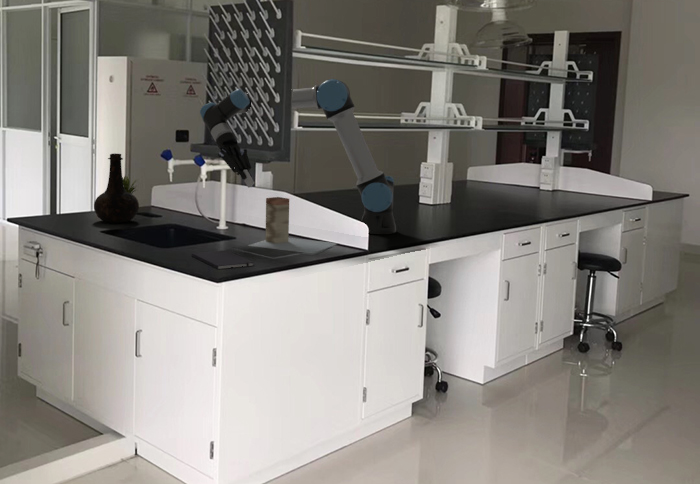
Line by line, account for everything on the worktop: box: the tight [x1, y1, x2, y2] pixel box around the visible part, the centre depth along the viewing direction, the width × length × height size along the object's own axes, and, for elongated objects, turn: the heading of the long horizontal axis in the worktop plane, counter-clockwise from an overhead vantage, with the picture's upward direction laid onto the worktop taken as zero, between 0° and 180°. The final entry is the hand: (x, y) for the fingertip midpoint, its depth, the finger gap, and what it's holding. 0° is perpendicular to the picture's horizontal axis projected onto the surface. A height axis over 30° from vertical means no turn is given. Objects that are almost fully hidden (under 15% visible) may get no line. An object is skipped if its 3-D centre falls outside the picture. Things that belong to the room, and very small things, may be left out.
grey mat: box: [247, 237, 338, 256], centre depth 284 cm, size 22×26×1 cm
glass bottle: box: [93, 153, 140, 224], centre depth 319 cm, size 18×18×28 cm
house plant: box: [122, 174, 138, 195], centre depth 355 cm, size 14×14×16 cm
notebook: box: [191, 250, 254, 270], centre depth 255 cm, size 13×2×21 cm
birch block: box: [264, 196, 290, 243], centre depth 287 cm, size 6×6×16 cm
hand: (251, 185), depth 294 cm, fingers closed
